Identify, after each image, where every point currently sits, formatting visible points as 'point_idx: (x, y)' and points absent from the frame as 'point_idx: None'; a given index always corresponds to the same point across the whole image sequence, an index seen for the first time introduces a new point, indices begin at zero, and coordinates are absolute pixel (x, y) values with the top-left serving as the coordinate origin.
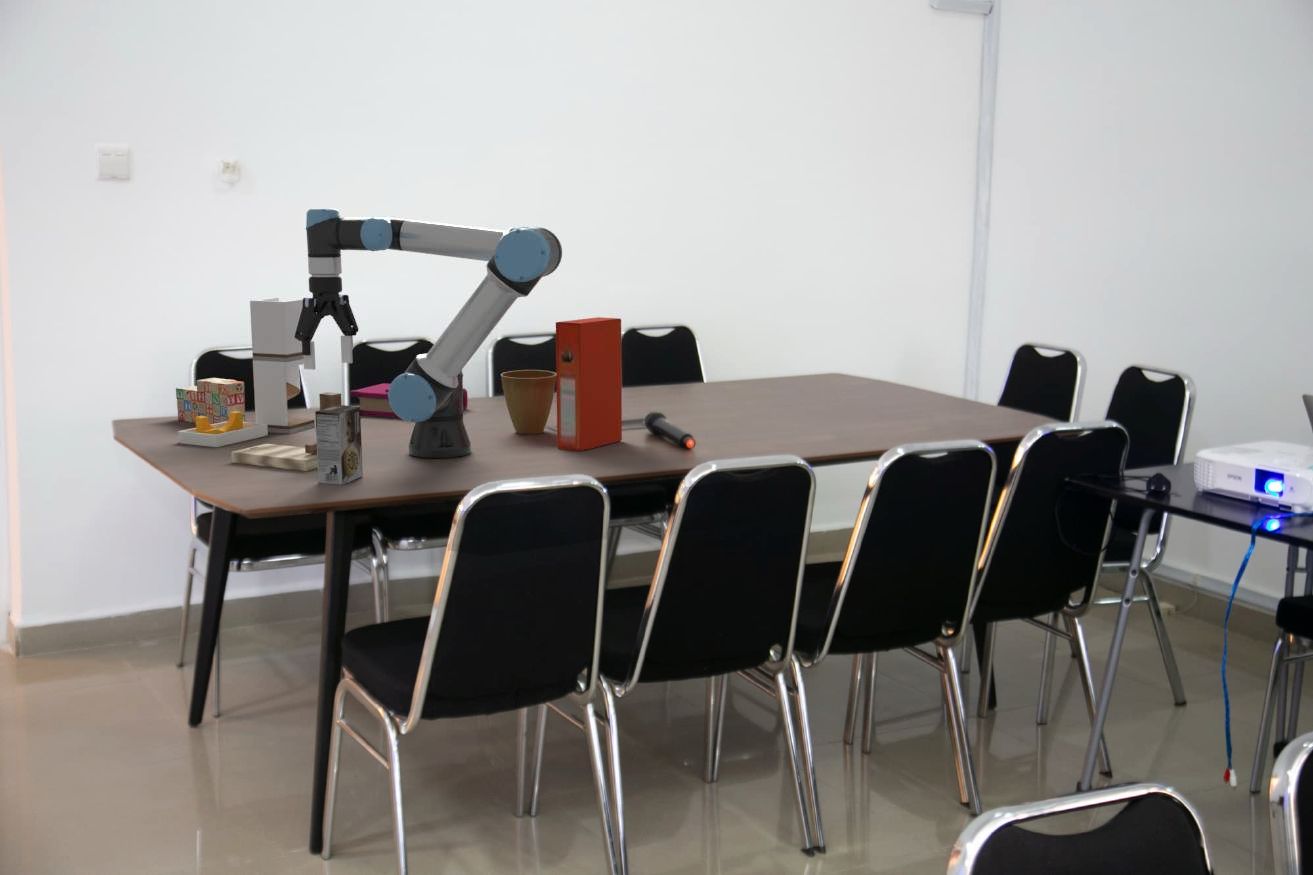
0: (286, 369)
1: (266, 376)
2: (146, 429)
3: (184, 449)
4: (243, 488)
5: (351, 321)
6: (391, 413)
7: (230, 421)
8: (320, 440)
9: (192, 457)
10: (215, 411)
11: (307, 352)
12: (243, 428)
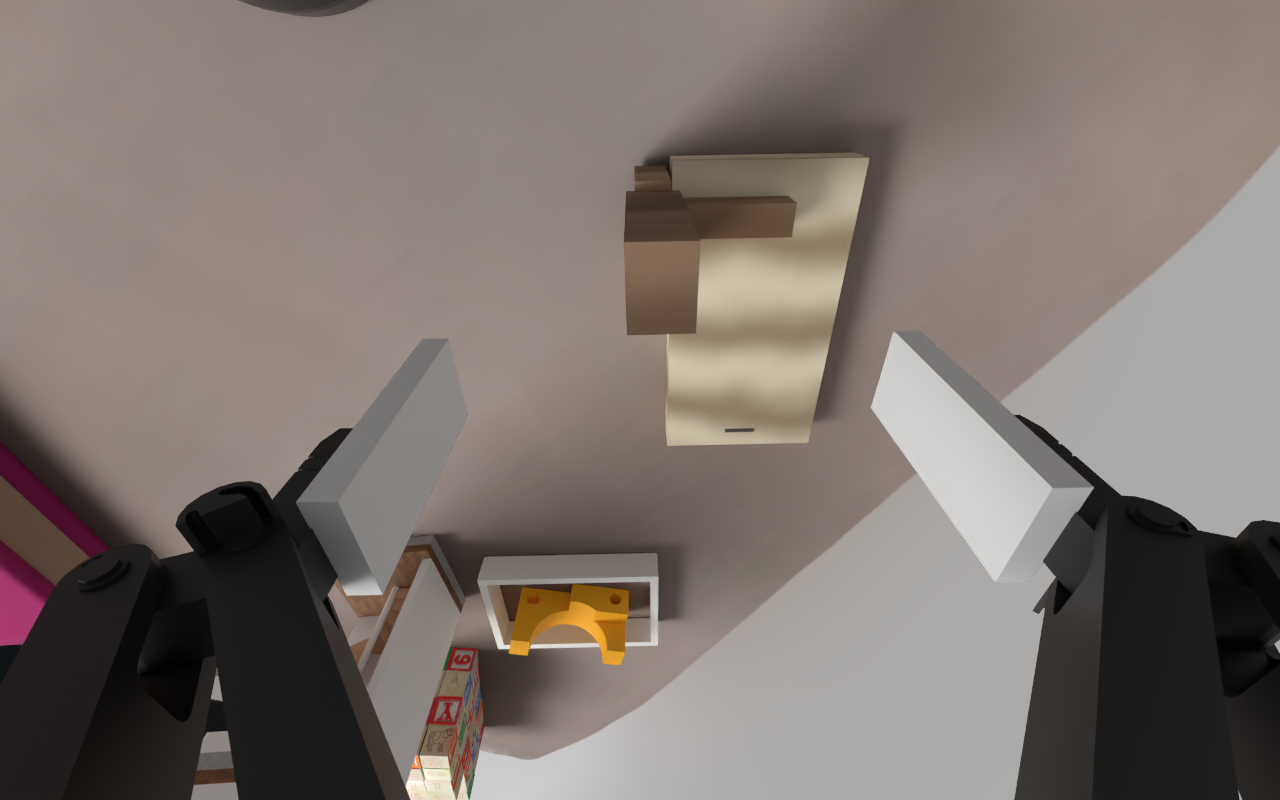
0: None
1: (402, 723)
2: (581, 713)
3: (706, 581)
4: (1162, 147)
5: (102, 723)
6: (39, 497)
7: (538, 629)
8: None
9: (776, 523)
10: (470, 701)
11: (1043, 431)
12: (500, 609)
